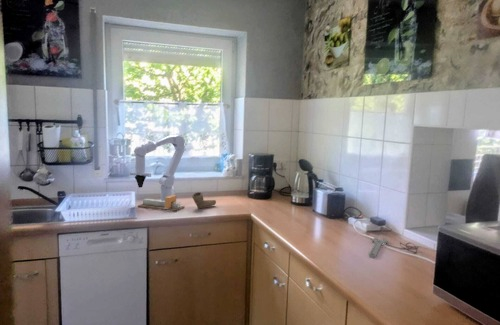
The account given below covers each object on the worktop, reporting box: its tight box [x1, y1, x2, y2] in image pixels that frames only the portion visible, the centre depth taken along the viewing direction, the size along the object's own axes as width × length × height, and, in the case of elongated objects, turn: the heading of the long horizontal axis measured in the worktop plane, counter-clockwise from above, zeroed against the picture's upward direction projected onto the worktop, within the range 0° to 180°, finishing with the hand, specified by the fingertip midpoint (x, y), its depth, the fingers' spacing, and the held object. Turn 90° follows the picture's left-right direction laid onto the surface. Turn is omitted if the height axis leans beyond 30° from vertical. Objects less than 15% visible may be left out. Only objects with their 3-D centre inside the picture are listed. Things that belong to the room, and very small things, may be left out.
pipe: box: [191, 191, 217, 210], centre depth 212 cm, size 6×17×10 cm, turn 133°
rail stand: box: [137, 198, 185, 213], centre depth 210 cm, size 26×10×4 cm, turn 71°
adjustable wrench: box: [368, 237, 389, 259], centre depth 152 cm, size 25×6×2 cm, turn 146°
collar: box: [165, 194, 177, 208], centre depth 208 cm, size 3×8×6 cm, turn 161°
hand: (140, 187), depth 217 cm, fingers closed
